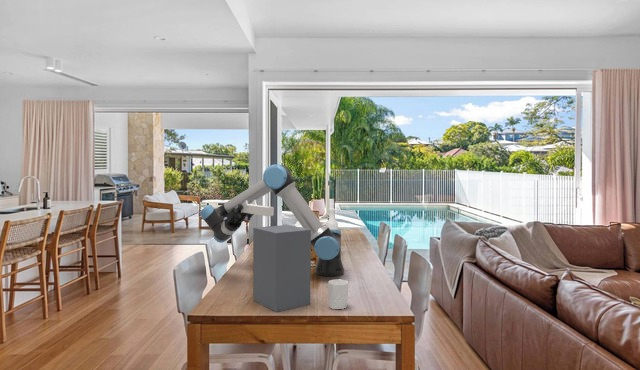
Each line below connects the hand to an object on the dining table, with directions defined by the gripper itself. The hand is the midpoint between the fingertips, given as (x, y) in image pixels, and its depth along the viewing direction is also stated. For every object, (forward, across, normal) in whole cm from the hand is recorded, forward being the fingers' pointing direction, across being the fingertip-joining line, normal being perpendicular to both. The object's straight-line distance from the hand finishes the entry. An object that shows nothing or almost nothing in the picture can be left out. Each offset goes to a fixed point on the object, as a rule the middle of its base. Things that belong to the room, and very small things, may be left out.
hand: (251, 202), depth 191 cm
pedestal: (+2, -1, -46) cm, 46 cm away
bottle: (-51, -76, -15) cm, 93 cm away
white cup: (+17, -16, -55) cm, 60 cm away
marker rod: (+1, 0, -6) cm, 6 cm away
